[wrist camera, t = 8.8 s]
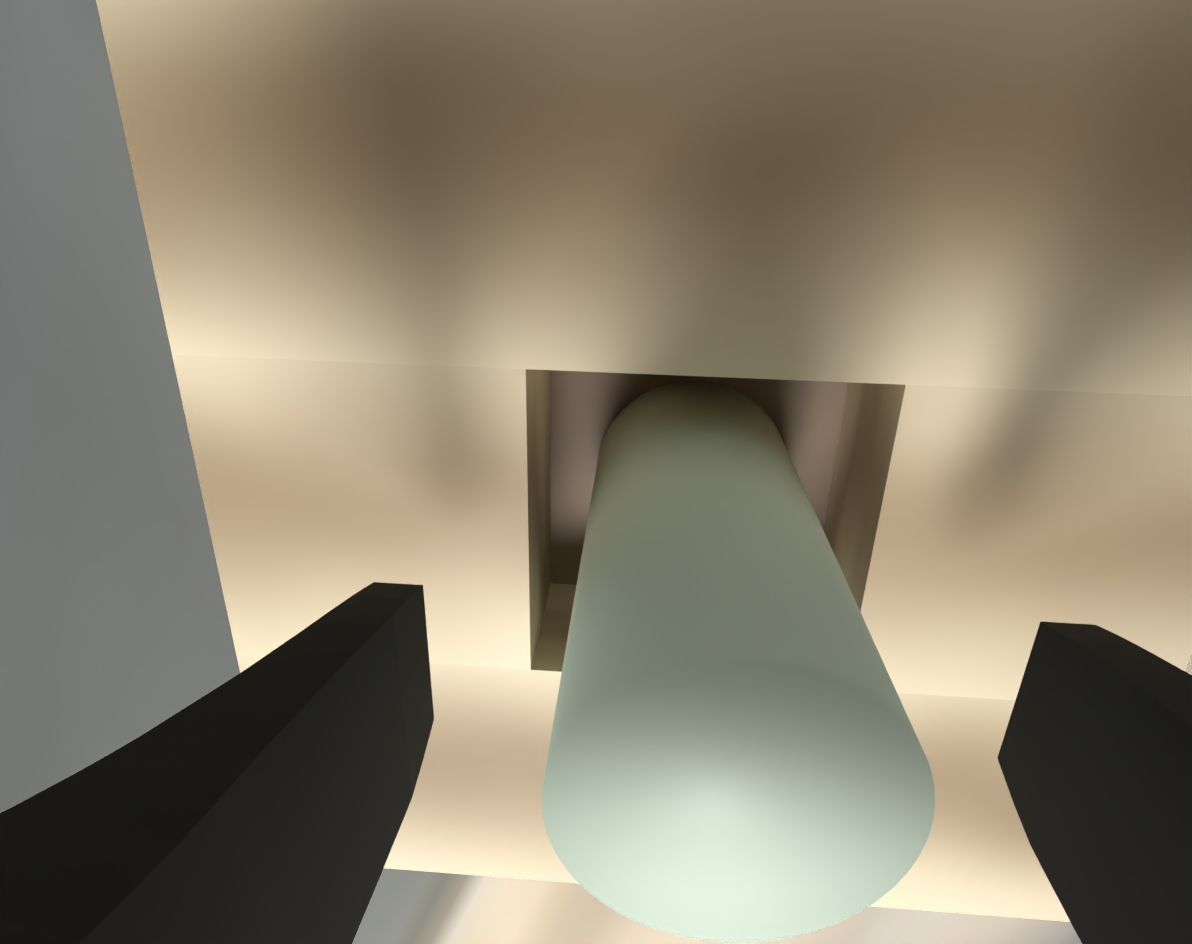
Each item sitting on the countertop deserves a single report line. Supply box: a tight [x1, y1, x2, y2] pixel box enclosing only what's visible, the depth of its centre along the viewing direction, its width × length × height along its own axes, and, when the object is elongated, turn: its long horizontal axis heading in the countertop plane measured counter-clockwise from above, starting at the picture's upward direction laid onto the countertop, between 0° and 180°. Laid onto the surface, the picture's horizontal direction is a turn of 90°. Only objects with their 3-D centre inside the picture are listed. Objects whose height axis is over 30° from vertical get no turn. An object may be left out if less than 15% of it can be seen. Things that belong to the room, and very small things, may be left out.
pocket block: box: [96, 0, 1192, 922], centre depth 13 cm, size 16×16×3 cm
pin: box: [541, 381, 935, 942], centre depth 10 cm, size 4×4×8 cm
